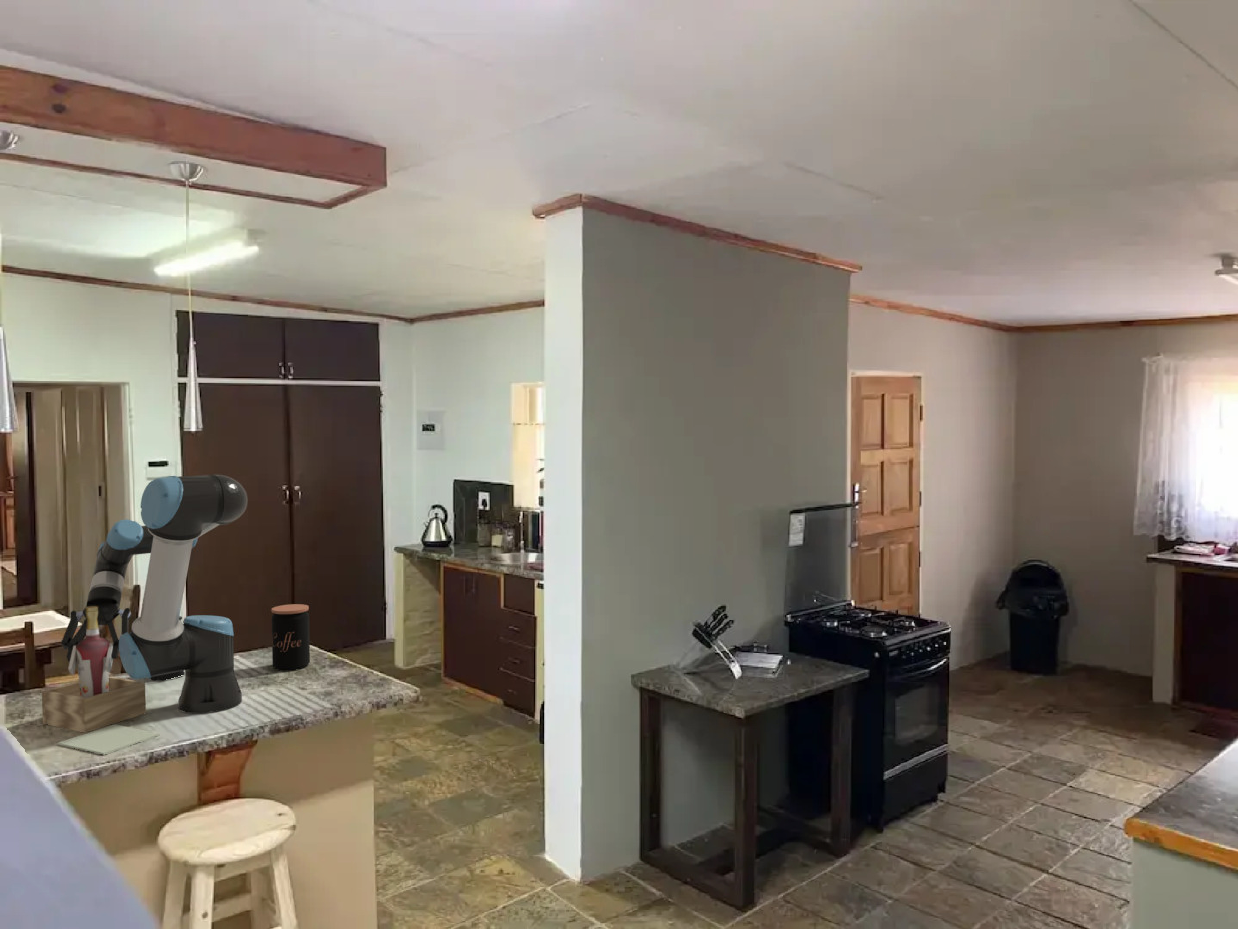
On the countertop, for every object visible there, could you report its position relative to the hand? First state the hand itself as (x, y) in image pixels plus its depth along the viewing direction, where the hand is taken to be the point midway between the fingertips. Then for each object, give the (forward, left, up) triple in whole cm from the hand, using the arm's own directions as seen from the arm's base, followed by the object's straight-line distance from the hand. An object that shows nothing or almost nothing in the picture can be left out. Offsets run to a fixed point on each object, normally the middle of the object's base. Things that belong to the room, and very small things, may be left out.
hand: (89, 670), depth 223 cm
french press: (+19, -37, -13) cm, 43 cm away
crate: (+2, -3, -13) cm, 14 cm away
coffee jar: (-6, -60, -13) cm, 61 cm away
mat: (-16, +6, -13) cm, 21 cm away
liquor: (+2, -3, -13) cm, 14 cm away
